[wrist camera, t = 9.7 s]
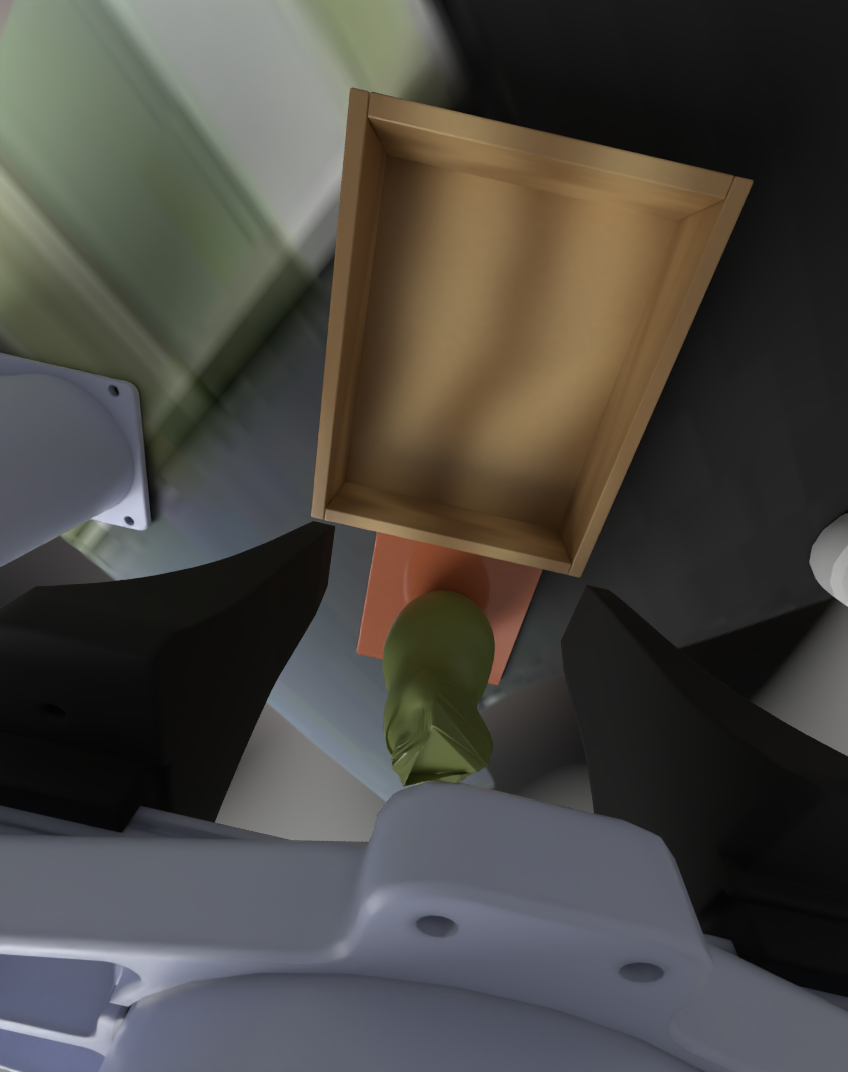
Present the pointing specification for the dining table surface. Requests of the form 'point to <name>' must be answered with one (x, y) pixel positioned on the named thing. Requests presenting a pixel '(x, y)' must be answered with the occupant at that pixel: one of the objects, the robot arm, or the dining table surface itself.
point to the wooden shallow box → (502, 326)
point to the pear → (437, 688)
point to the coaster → (427, 568)
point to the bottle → (832, 559)
